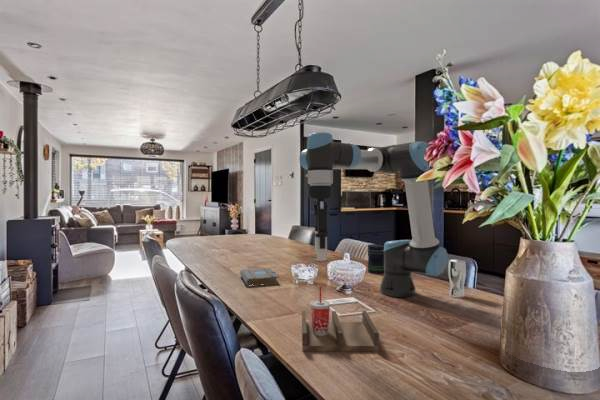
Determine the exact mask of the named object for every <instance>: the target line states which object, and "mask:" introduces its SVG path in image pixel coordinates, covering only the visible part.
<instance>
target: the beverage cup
mask: <svg viewBox="0 0 600 400" xmlns="http://www.w3.org/2000/svg"><path fill="white" fill-rule="evenodd" d="M330 307H331V305H330V302H329V301H325V299H324V300H323V299H322V286H319V299H317V300H312V301H311V302H310V308H311V309H310V310H311V319H312V320H311V322H312V326H313V334H314V335H317V336H325V335H327V334H328V325H329V322H330V320H329V319H330V309H329V308H330Z"/></svg>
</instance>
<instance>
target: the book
mask: <svg viewBox="0 0 600 400" xmlns="http://www.w3.org/2000/svg"><path fill="white" fill-rule="evenodd" d="M239 275H240V276H241V278H242V280H243V282H244V283H245V284H246V286H247V287H248V286H249V285H252V284H253V285H261V284H275V285H278V284H277V283H279V284H280V282H279V281H278V280H277V278H280V276H279V275H278V274H277V273H276V271H275V270H273V269H271V267H263V268H262V267H261V268H248V269H241V270H240V272H239Z"/></svg>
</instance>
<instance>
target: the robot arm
mask: <svg viewBox="0 0 600 400" xmlns="http://www.w3.org/2000/svg"><path fill="white" fill-rule="evenodd" d="M306 143H307V144H306V149H303V150H302V151H301V152H300V154H299V159H298V160H299V164H300V166H301V168H303V169H304V170H306V171H307V174H305V177H306V178H307V184H308V186H307V198H308V199H315V201H314V204H313V214H314V248H315V249H314V250H315V253H317V259H316V260H317V261H327V260H328V235H329V233H328V221H327V219H328V203H327V201H326V200H325V199H332V198H333V196H334V195H333V193H334V191H333V190H334V189H333V188H334V187H333V186H332V184H333V183H334V170H368V171H369V172H371V173H372V172H373V173H374V172H375V173H385V174H399V180H401V181H402V182H403V183H404V187H405V188H404V189H405V195H406V202H407V208H408V209H407V210H408V215H409V216H408V217H409V224H410V231H411V237H412V238H411V239H399V240H398V239H397V240H390V241H389V240H387V241H386V242H385V243H384V244H383V245H384V274H383V276H382V279H381V283H380V285H379V292H380V293H381V294H382V295H386V296H389V297H395V298H408V297H409V298H410V297H414V296H415V295H416V286H415V283H414V280H413V276H412V273H417V274H422V275H426V276H433V277H436V276H439V275H441V274H442V273H443V271H444V270H445V268H446V265H447V262H448V252H447V249H446V248H445V247H443V246H441V245H440V239H438V238H436V237H435V230H434V228H435V227H434V223H433V222H434V221H433V213H432V204H431V199H430V198H431V197H430V188H429V181H428V180H427V181H424V182H415V179H416V178H417V177H419V176H420V175H421V174H423V173H424V172H426V171H428V170H429V169H430V167H429V165H428V163H427V162H426V161H425V160H424V155H425V150H426V148H427V146H428V144H429V143H428V142H426V141H411V142H405V143H399V144H398V143H397V144H392V145H387V146H382V147H381V146H380V147H371V148H368V149H360V147H359V146H357V145H356V144H354V143H350V142H349V143H345V142H338V141H337V142H336V141H334V139H333V135H332V134H331V133H330V132H326V131H325V132H324V131H323V132H321V131H320V132H313V133H310V134H309V135H308V136H307V142H306Z"/></svg>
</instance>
